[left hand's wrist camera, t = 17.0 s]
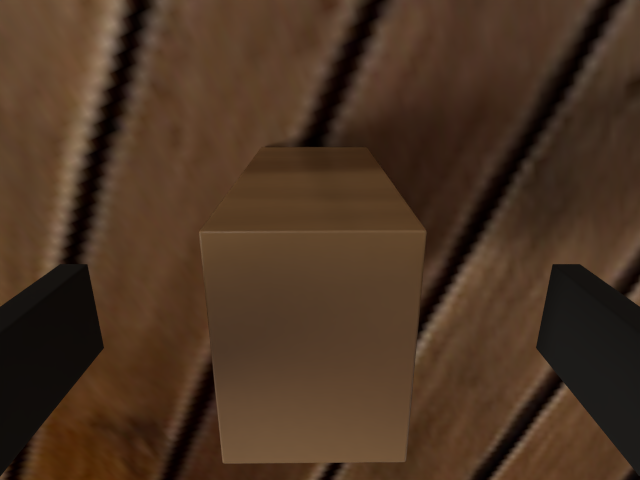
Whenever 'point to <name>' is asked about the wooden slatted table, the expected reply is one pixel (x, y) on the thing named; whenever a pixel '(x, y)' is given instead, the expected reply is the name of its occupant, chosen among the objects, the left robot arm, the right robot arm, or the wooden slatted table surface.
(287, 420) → the brick
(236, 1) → the wooden slatted table surface
